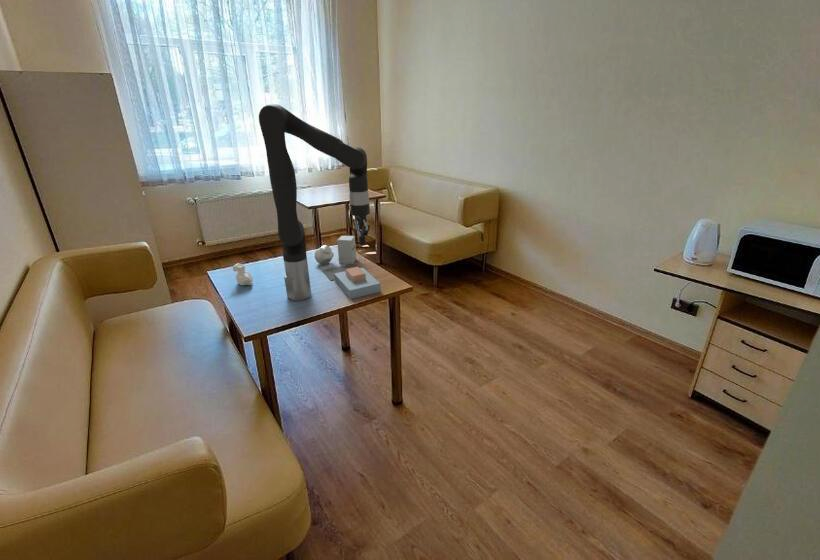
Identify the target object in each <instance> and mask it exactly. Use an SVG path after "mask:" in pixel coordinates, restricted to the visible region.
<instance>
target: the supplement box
mask: <svg viewBox="0 0 820 560" xmlns="http://www.w3.org/2000/svg"><path fill="white" fill-rule="evenodd" d="M336 244H337V252H338V264H344V265H349V264H354V262H355V261H356V260H357V251H356V249H357V248H356V236H355V235H341V236H340V237H339V238H337V242H336Z"/></svg>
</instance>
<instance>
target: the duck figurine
mask: <svg viewBox="0 0 820 560" xmlns="http://www.w3.org/2000/svg"><path fill="white" fill-rule="evenodd" d="M245 269H246V266H245V265H244V264H242V263H239V262H237V263H235V264H234V265H233V266H232V271H233V272H237V273H236V276H235V280H236V282H237V283H238V285H240V286H253V276H252V275H251V274H250V273H249V271H247V270H245Z"/></svg>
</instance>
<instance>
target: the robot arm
mask: <svg viewBox="0 0 820 560" xmlns="http://www.w3.org/2000/svg"><path fill="white" fill-rule="evenodd" d="M258 122H259V126H260V130H261V133H262V137H263V141H264V146H265V151H266V158H267V159H266V161H267V167H268V173H269V174H268V175H269V179H270V187H271V191H272V198H273V201H274V205H275V209H276V210H275V211H276V216H277V218H276V219H277V235H278V238H279V240H280V242H281V243H282V257H283V264H284V272H285V276H284V286H285V290H286V292H285V293H286V296H287V298H288V299H289V300H290V299H291V300H292V301H294V302H297V301H304V300H307V299H309V298H310V297H311V296H312V288H311V281H310V273H309V272H310V271H309V267H308V265H309V264H308V257H307V242H306V235H305V234H306V233H305V228H304V225H303V223H302V222H301V221H300V220H299V218H298V213H297V202H298V201H297V197H298V192H297V190H298V187H297V178H296V172H295V167H294V164H293V162H292V159H291V157H290V155H289V154H290V153H289V152H288V148H287V144H286V143H287V142H286V134H289V135H291V136H294V137H296V138H298V139H300V140H301V141H303V142H305V143H307V144H308V145H309V146H310V147H312V148H314V149H315V150H316V151H319V152H321V153H323V154H324V155H327V156H329V157H331V158H334V159H335V160H337V161H338V162H340V163H342V164H343V165H344V166H346V167H348V168H349V178H348V188H349V198H348V199H349V210H350V215H351V216H353V217H354V218H352V224H353V226H354V229H355V233H356V234H357V236H358V243H359V245H360V246H365V245H366V236H368V235H369V232H370V229H371V227H370V224H368V219H367V216H368V215H370V212H371V211H370V210H371V208H370V207H371V206H370V195H369V186H368V185H369V184H368V157H367V156H368V155H367V153H366V151H365V150H364V149H363V148H361V147H353V146H350V145H348V144H346V143H345V142H344V141H343V140H342V139H340V138H338V137H336V136H335V135H333V134H330V133H328V132H326V131H324V130H322V129H319V128H317V127H315V126H314V125H311V124H309V123H307V122H306V121H304V120H303V119H301V118H299V117H298V116H296V115H295V114H293V113H292V112H290V111H289V110H288V109H286V108H285V107H284V106H283V105H280V104H275V103H274V104H267V105H264V106H263V107H261V109H260V111H259V113H258Z"/></svg>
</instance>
